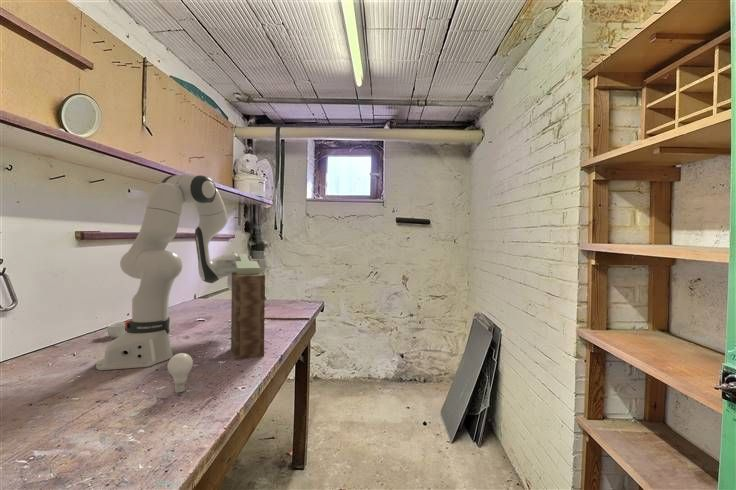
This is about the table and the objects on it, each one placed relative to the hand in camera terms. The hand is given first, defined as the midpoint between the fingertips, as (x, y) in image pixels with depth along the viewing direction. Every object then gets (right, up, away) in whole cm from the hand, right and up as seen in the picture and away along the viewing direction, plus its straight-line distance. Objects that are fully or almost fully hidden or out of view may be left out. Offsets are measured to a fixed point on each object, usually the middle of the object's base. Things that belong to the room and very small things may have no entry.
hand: (243, 257), depth 143 cm
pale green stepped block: (+2, -3, -3) cm, 5 cm away
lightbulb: (-2, -37, -44) cm, 57 cm away
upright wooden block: (+4, -36, -9) cm, 37 cm away
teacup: (-58, -35, +9) cm, 68 cm away
